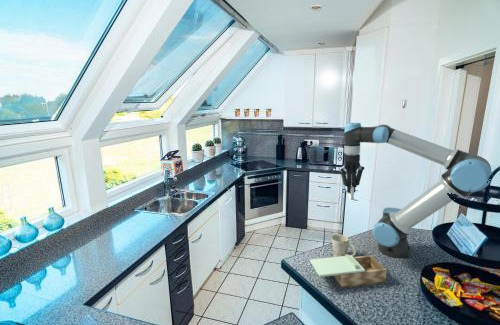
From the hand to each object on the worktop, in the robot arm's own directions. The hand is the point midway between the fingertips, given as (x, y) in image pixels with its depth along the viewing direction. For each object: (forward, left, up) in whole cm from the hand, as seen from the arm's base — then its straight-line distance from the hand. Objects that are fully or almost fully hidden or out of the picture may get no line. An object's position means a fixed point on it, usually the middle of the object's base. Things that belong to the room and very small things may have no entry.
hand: (350, 198), depth 136 cm
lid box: (+8, +22, -29) cm, 38 cm away
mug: (+6, +5, -30) cm, 31 cm away
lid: (+18, +22, -23) cm, 36 cm away
